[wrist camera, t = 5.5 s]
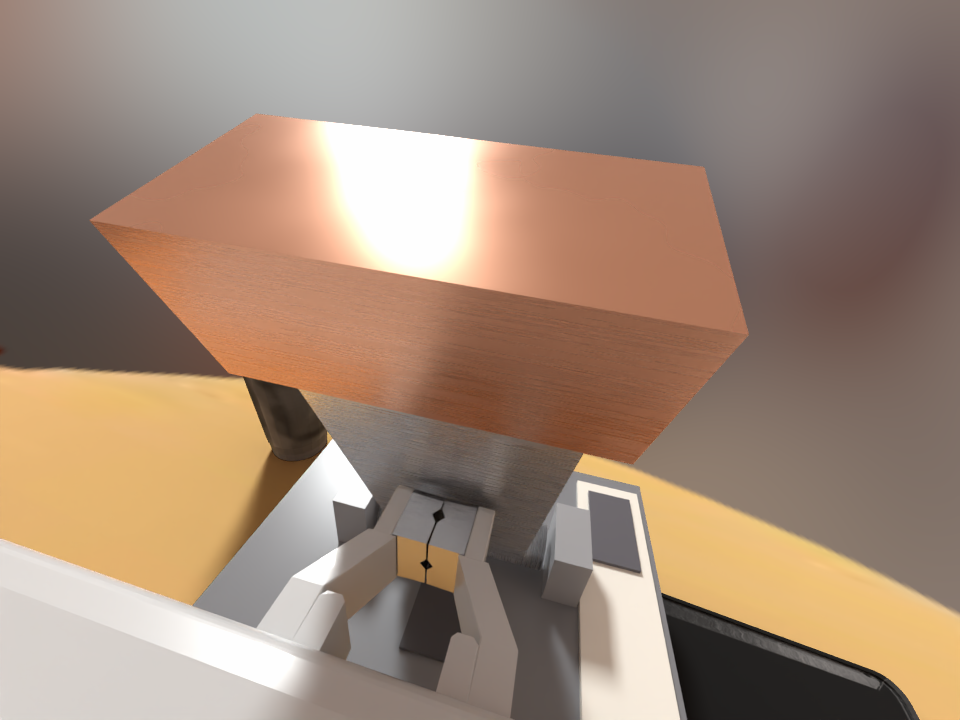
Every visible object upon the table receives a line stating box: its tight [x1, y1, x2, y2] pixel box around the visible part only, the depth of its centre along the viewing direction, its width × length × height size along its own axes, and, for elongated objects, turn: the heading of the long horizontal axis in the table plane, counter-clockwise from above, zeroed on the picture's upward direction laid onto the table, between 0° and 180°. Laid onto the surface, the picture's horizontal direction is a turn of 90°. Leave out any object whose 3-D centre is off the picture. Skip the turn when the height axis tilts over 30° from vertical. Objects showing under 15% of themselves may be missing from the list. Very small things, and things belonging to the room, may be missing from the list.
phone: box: [661, 593, 920, 720], centre depth 20 cm, size 8×1×15 cm
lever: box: [90, 114, 749, 570], centre depth 12 cm, size 8×3×18 cm, turn 78°
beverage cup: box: [243, 376, 327, 461], centre depth 28 cm, size 7×7×20 cm
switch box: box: [193, 439, 687, 720], centre depth 20 cm, size 20×14×10 cm
